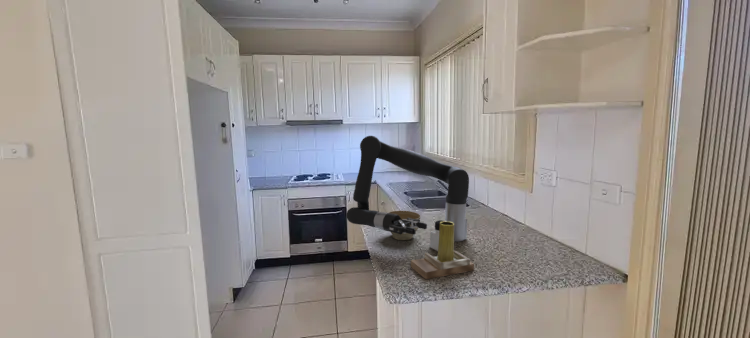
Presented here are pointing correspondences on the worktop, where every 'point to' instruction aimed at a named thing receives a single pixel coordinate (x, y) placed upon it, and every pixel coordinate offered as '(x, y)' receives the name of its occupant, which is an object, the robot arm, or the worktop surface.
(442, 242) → the vase
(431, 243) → the medicine bottle
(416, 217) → the planter bowl
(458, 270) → the dock
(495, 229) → the worktop surface
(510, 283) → the worktop surface
